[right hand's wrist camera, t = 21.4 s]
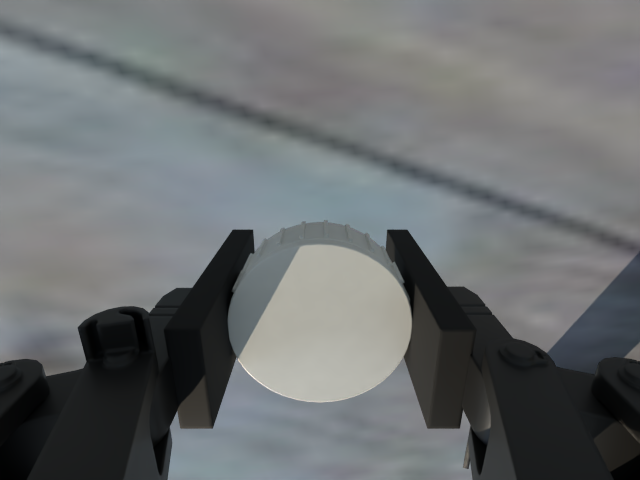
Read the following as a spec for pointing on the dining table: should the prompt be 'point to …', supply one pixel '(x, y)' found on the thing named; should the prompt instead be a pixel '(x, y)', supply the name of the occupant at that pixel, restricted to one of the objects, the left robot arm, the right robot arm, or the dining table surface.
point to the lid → (319, 313)
